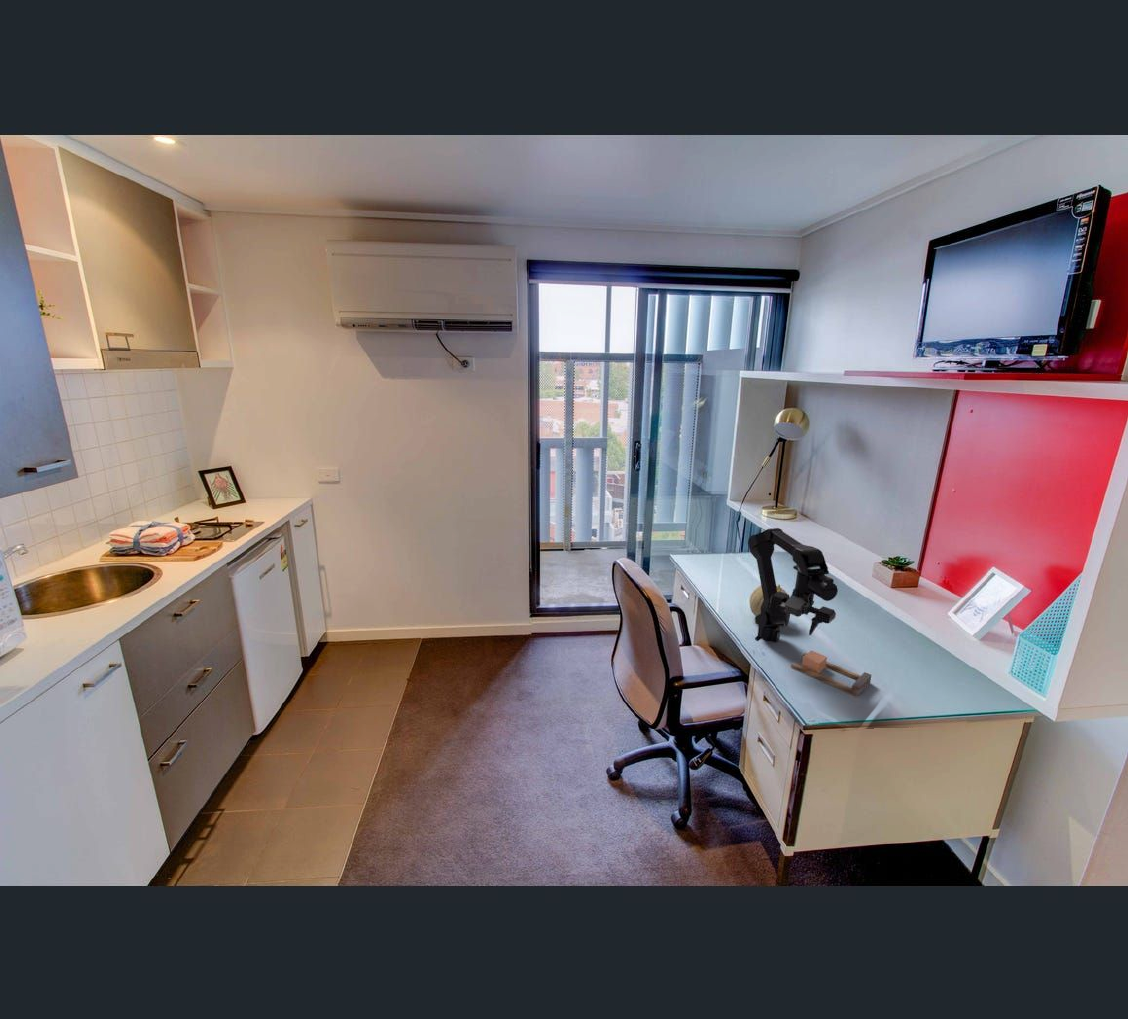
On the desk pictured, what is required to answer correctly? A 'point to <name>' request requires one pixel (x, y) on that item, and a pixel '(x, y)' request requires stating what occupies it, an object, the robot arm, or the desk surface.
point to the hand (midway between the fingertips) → (798, 630)
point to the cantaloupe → (759, 599)
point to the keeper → (814, 661)
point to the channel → (856, 687)
